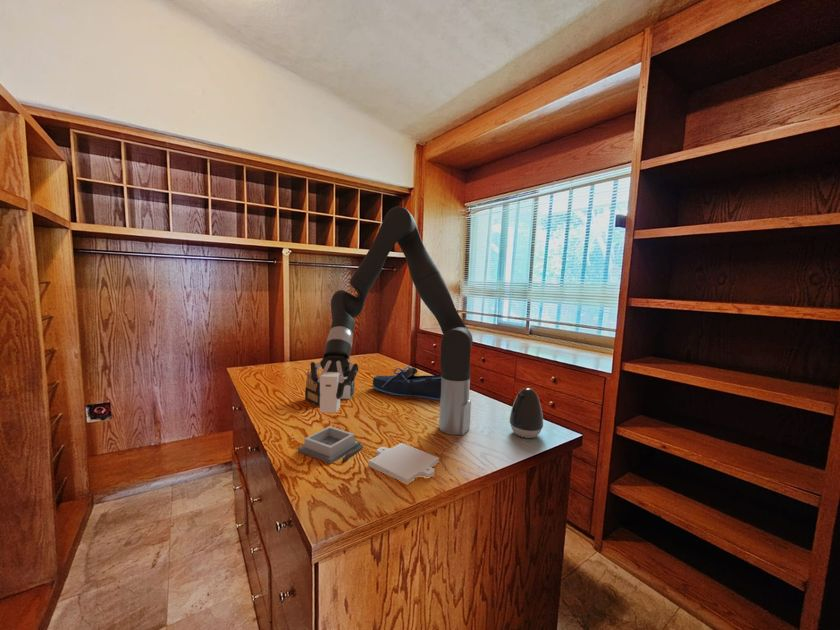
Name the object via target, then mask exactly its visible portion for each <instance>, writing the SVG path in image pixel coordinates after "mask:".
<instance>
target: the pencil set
mask: <svg viewBox="0 0 840 630" xmlns="http://www.w3.org/2000/svg"><path fill="white" fill-rule="evenodd" d="M320 376H321V374H320V373H317V378H319V377H320ZM305 383H306V384H305V387H304V389H305V394H304V400H305V401H306V400H307V401H306V402H308V401H309V402H308V403H310V402H311V404H312V403H313V404H312V405H314V404H315V406H316V405H317V407H318V406H319V408H320V398H318V397H317V395H316V388H317V384H314V383H313V381H312V377H311V370H310V369H308V370H307V372H306V381H305Z"/></svg>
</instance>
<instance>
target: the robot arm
mask: <svg viewBox="0 0 840 630" xmlns="http://www.w3.org/2000/svg"><path fill="white" fill-rule="evenodd" d="M395 244H397V245H398V246H399V248H400V250H401V251H402V253H403V255H404V258H405V261H406V263H407V267H408V272H409V275H410V277H411V280H412V283H413V285H414V287H415V289H416V291H417V293H418V295H419V297H420V299H421V301H422V302H423V303H424V305H425V306H426V307H427V309H428V310H429V311H430V312H431V313H432V315H433V316H434V318H435V319H436V321H437V322H438V326H439V327H440V330H441V332H442V337H441V342H440V362H439V363H440V372H441V373H440V374H441V393H440V400H439V419H438V420H439V421H438V423H439V424H438V429H439V431H440V432H442V433H445V434H447V435H451V436H452V435H453V436H454V435H455V436H456V435H459V436H464V435H465V434H466V433H467V432H468V431H469V430H470V429H471V409H472V408H471V407H472V400H470V388H471V387H470V386H471V352H472V351H471V350H472V349H471V348H472V346H473V341H474V340H473V336H472V333H471V332H470V330H469V328H468V327H467V325H466V324H465V322H464V320H463V319H462V317H461V315H460V314H459V312H458V310H457V308H456V306H455V303H454V301H453V298H452V295H451V293H450V291H449V289H448V287H447V284H446V282H445V279H444V277H443V276H442V274H441V272H440V269H439V268H438V265H437V264H436V263H435V260H434V259H433V258H432V256H431V255H430V253H429V251H428V250H427V249H426V246H425V245H424V242H423V240H422V237H421V235H420V232H419V228H418V226H417V223H416V220H415V218H414V216H413V215H412V213H411V212H410V211H409V210H408V209H407V208H405V207H404V206H403V207H402V206H394V207H392V208H390V209H389V210H388V211H387V212H386V214H385V216H384V218H383V220H382V222H381V224H380V227H379V229H378V232H377V234H376V235H375V237H374V239H373V242H372V244H371V245H370V247H369V249H368V251H367V253H366V255H365V256H364V257H363V259H362V261H361V263H360V264H359V265H358V267H357V269H355V271H354V273H353V275H352V276H351V278H350V280H349V285H350V286H351V287H352V289H353V288H354V290H355V291H356V292H357V295H356V296H355V295H354V294H352V293H350V292H348V291H346V290H343V289H340V290H337V291H335V292H334V293H333V295H332V296H331V300H330V310H331V311H330V312H331V313H330V314H331V325H330V329H329V333H328V336H327V338H326V343H325V347H324V351H323V357H322V359H321V360H320V362H315V361H312V362H310V371H311V377H312V381H313V383H314V384H317V388H316V395H317V397H318V398H320V377H319V378H317V375H318V373H317V372H318V371H319V370H320V368H321V369H322V371H321V373H320V375H322V374H323V373H324V372H338V373H340V378H339V384H338V389H337V394H336V397H337V399H340V397H342V396H343V391H344V387H345V386H346V385H351V384H352V382H353V380H354V378H356V375H358V372H359V365H358V364H357V363H351V362H350V357H351V352H352V348H353V340H354V339H353V338H354V336H353V335H354V330H355V318H357V317H358V316H360V315H361V313H362V311H363V309H364V306H365V303H366V300H367V298H368V294H369V292H370V290H371V288H372V287H373V285H374V284H375V282H376V281H377V279H378V277H379V276H380V274H381V272H382V270H383V267H384V265H385V263H386V260H387V258H388V256H389V254H390V252H391V251H392V249H393V247H394V246H395ZM348 368H350V373H349V375H348V377H347V379H344V376H343V373H344V372H345V371H346V370H347V369H348ZM340 400H341V399H340Z"/></svg>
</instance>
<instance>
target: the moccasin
mask: <svg viewBox="0 0 840 630" xmlns="http://www.w3.org/2000/svg"><path fill="white" fill-rule="evenodd" d="M407 368H408V369H407ZM406 369H407V370H406ZM397 370H399V372H397ZM393 373H394V374H395V375H376V376H374V377H373V379H372V388H373V389H375V390H377V391H380V392H383V393H385V394H390V395H393V396H401V397H412V396H414V397H415V398H423V399H429V400H434V401H435V400H436V401H440V393H441V373H440V374H432V375H431V374H430V375H428V374H427V375H416V374H417V373H418V369H417V368H416V367H415V366H411V367H410V365H406V366H405V367H404V368H401V367H396V368H395V369H394V370H393Z"/></svg>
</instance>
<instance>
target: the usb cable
mask: <svg viewBox="0 0 840 630" xmlns="http://www.w3.org/2000/svg"><path fill="white" fill-rule="evenodd" d="M363 448H364V445H363V444H360V446H358V447H357V448H355V449H354V450H352V451H351V452H349V453H347V454H346V455H344V456H343V457H342V461H343V462H346V461H347V460H348V459H349V458H350V457H352V456H353V455H355V454H356V453H357V452H358V451H360V450H362V449H363Z"/></svg>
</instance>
